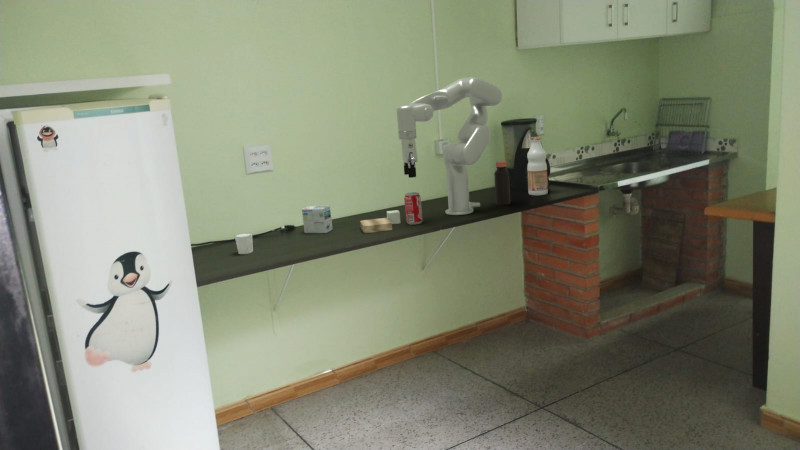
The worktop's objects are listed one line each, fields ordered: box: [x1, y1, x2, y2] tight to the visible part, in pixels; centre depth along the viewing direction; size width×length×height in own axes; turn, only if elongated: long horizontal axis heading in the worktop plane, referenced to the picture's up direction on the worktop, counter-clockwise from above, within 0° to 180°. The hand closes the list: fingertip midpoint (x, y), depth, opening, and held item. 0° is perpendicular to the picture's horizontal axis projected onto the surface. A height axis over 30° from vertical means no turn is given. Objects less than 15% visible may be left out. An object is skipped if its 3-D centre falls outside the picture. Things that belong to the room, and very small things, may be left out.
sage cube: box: [386, 209, 402, 225], centre depth 299 cm, size 5×5×5 cm
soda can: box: [403, 191, 424, 226], centre depth 294 cm, size 7×7×13 cm
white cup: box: [234, 232, 254, 255], centre depth 268 cm, size 7×7×7 cm
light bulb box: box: [301, 205, 333, 234], centre depth 294 cm, size 11×7×11 cm, turn 71°
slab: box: [359, 217, 393, 234], centre depth 291 cm, size 12×12×3 cm
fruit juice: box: [526, 136, 549, 196], centre depth 335 cm, size 9×9×28 cm
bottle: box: [494, 160, 511, 207], centre depth 318 cm, size 7×7×20 cm
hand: (410, 175), depth 291 cm, fingers open, 9 cm apart
